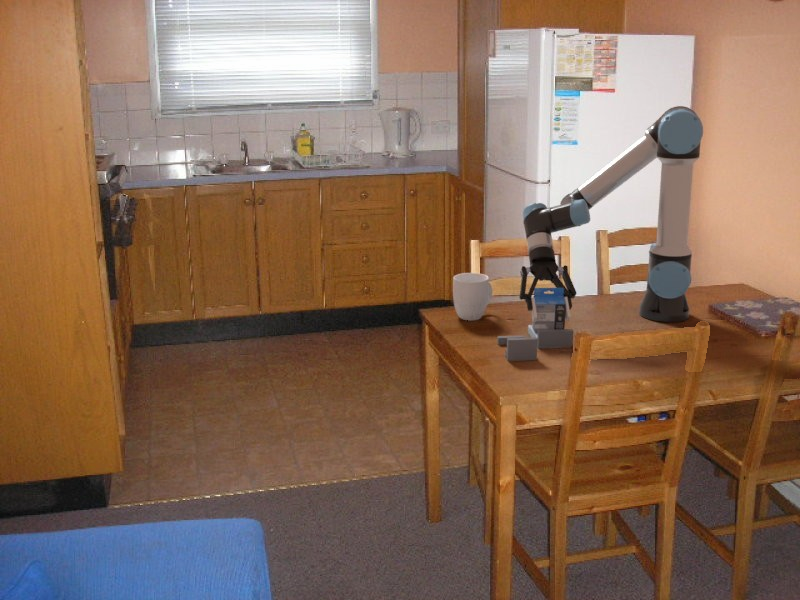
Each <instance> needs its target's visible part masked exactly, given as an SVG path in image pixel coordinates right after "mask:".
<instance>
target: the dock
mask: <svg viewBox="0 0 800 600" xmlns="http://www.w3.org/2000/svg"><path fill="white" fill-rule="evenodd" d="M527 335H528V336H529V338H530V337H536V338H537V339H538V341H537V350H539V349H540V350H541V349H563V348H562V347H572V346H574V345H573V344H574V330H573V328H565V329H556V330H538V332H534V330H533V328H532V324H528V325H527Z"/></svg>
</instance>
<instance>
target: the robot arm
mask: <svg viewBox="0 0 800 600" xmlns="http://www.w3.org/2000/svg"><path fill="white" fill-rule="evenodd" d="M644 132H645V133H644V135H643V136H641V137H640V138H639V139H638V140H637V141H635V142H634V143H633V144H632V145H630V146H629V147H628V148H626V149H625V150H624V151H622V152H621V153H620V154H619V155H618V156H616V157H615V158H614V159H613V160H611V161H610V162H609V163H607V164H606V165H605V166H603V167H602V168H601V169H600V170H598V171H597V172H596V173H595V174H593V175H592V176H591V177H590V178H588V179H586V181H584V182H583V183H582V184H580V185H579V186H578V187H577V188H576V189H574V190H573V191H572V192H571V193H568V194H566V195H565V196H564V197H563V198H562V200H561V201H560V204H559V205H555V206H552V207H551V206H550V207H547V206H546V204H544V203H543V202H542V203H541V202H537V203H536V202H533V203H530V204H528V205H526V206H525V207H524V209H523V210H522V216H523V226H524V231H525V237H526V245H527V246H526V247H527V252H528V259H529V266H527V267H526V266H524V265H523V266H521V269H520V271H519V272H520V277H521V280H520V281H521V282H520V290H519V300H524V301H525V303H526V308H527V310H528V311H529V312H530V313H531V318H532V321H533V322H536V320H537V312H536V305H535V298H533V297H532V296H533V295H534V288H537V284H538V281H542V282H543V281H550V282H551V283H552V284H553V285H554V287H555V288H564V294H563V296H564V299H565V303H566V312H565V322H569V321H570V319H571V310H572V308H573V303H572V299H575V298H576V295H577V291H576V288H575V286H574V283H573V281H572V279H571V276H570V274H569V272H568V271H569V270H568V265H563V266H559V265H558V264H557V260H556V255H555V254H556V253H555V249H554V248H555V247H554V243H553V237H552V233H557V232H560V231H564V230H567V229H571V228H576V227H581V226H583V225H586V224H589V223H590V221H591V214H590V210H591V209H592V208H593V207H594V206H595V205H597V204H598V203H599V202H600V201H602V200H603V199H605V198H606V197H607V196H608V195H610V194H612V192H614V191H615V190H617V189H618V188H619V187H620V186H622V185H623V184H624V183H626V182H627V181H629V179H631V178H632V177H634V176H635V175H637V173H639V172H641V170H643V169H644V168H646V167H647V166H648V165H650V163H652V162H653V161H654V160H656V159H658V160H659V162H661V167H660V168H661V171H660V185H659V197H658V198H659V200H658V201H659V202H658V215H657V229H656V230H657V231H656V242H653V243H651V244H650V247H649V250H648V254H649V256H648V268H647V269H648V270H647V279H646V280H647V282H646V290H645V292H644V295H643V297H642V299H641V302H640V304H639V309H638V314H639V315H640V317H643V318H644V319H647V320H650V321H655V322H664V323H674V322H675V323H676V322H679V323H680V322H683V321H687V320H688V319H689V318H690V307H689V303H688V297H687V295H686V293H687V291H688V290H689V287H690V286H691V284H692V274H691V270H692V269H691V268H692V257H693V256H692V253H693V251H692V250H691V249H690V247H689V246H688V238H689V237H688V235H689V225H690V223H689V222H690V210H691V199H692V198H691V197H692V183H693V174H694V173H693V170H694V163H696V162H697V161H698V160H699V159H700V155H701V154H700V151H701V143H702V142H701V141H702V138H703V136H704V135H703V134H704V126H703V123H702V121H701V118H700V117H699V116H698V114H697V113H696V112H695V111H694V110H693V109H691V108H689V107H687V106H683V105H680V106H679V105H676V106H673V107H670V108H669V109H667V110H665V111H664V113H663V114H662V115H661V116H659V118H658V119H656V120H655V122H653V123H652V124H651V125H650V126H648V127H647V128H646V129H645V131H644ZM529 272H530V273H531V275H533V276H534V279H533V281H532V283H531V286H530V287H529V290H528V292H527V293H526V288H527V281H528V275H529V274H530V273H529ZM557 272H559V275H561V277H562V280H563V282H564V283H563V282H562V281H561V279H560V278H559V275H558V274H557Z"/></svg>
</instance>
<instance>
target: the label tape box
mask: <svg viewBox="0 0 800 600" xmlns="http://www.w3.org/2000/svg"><path fill="white" fill-rule="evenodd" d="M546 292H550V293H546ZM551 292H552V293H551ZM563 294H564V288H556V287H535V288H534V292H533V295H532V296H533V297H532V298H535V305H536V312H537V320H536V322H533V320H532V321H531V323H532V324H531V325H532V328H533V330H534V332H538V330H556V329H566V327H565V326H566V319H565V312H566V303H565V299H564V296H563Z"/></svg>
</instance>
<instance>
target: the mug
mask: <svg viewBox="0 0 800 600" xmlns="http://www.w3.org/2000/svg"><path fill="white" fill-rule="evenodd" d="M452 279H453V283H452V298H453V306H454V309H455V312H456V314H457V315H458V318H459V319H460V320H463V321H467V320H468V322H469V321H470V322H471V321H472V322H473V321H479V320H480V319H482V317H483V315H484V314H485V311H486V309H487V306H488V304H489V303H490V301H491V300H492V297H493V287H492V284H491V283H490V281H489V280H490V278H489V276H488V275H486V274H484V273H478V272H462V273H458V274H455V275H454V276H453V278H452Z"/></svg>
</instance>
